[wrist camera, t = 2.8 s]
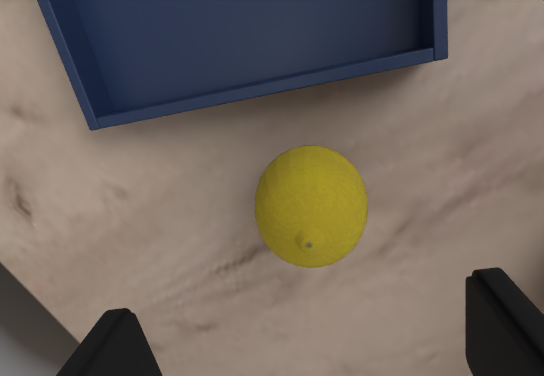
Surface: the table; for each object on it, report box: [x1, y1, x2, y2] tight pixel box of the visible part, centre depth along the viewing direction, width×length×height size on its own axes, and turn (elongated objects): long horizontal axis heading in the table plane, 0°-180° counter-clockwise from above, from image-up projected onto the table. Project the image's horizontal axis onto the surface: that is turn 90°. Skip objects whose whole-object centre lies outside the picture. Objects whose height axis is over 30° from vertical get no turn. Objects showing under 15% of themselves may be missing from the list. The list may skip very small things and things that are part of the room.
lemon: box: [255, 146, 368, 268], centre depth 17 cm, size 6×6×8 cm
